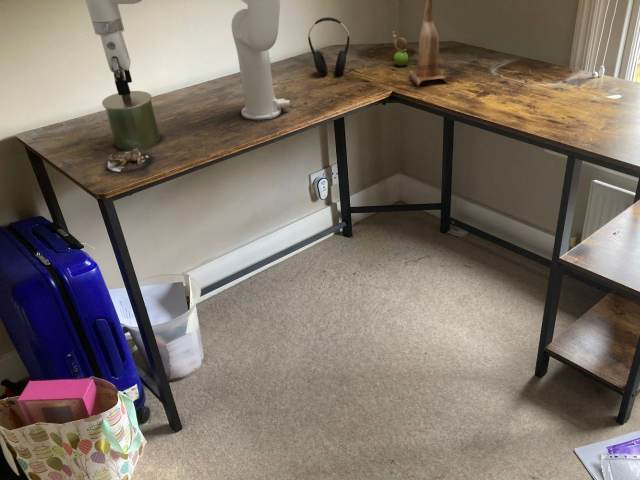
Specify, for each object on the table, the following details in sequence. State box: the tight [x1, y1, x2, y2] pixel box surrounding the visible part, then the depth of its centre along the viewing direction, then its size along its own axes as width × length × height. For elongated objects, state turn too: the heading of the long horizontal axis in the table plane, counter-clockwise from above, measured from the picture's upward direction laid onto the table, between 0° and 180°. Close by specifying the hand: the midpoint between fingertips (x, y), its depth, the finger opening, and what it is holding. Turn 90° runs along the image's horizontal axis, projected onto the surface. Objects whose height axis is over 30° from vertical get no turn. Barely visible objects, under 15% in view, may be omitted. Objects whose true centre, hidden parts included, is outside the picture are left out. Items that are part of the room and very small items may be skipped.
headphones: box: [307, 16, 350, 76], centre depth 232 cm, size 9×15×20 cm, turn 91°
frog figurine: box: [107, 148, 149, 173], centre depth 181 cm, size 12×12×4 cm
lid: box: [101, 90, 153, 110], centre depth 184 cm, size 14×14×6 cm
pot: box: [104, 100, 161, 151], centre depth 190 cm, size 13×13×12 cm
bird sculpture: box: [408, 0, 449, 87], centre depth 222 cm, size 11×12×32 cm
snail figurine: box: [391, 30, 409, 67], centre depth 242 cm, size 5×6×12 cm
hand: (125, 88), depth 184 cm, fingers open, 9 cm apart
